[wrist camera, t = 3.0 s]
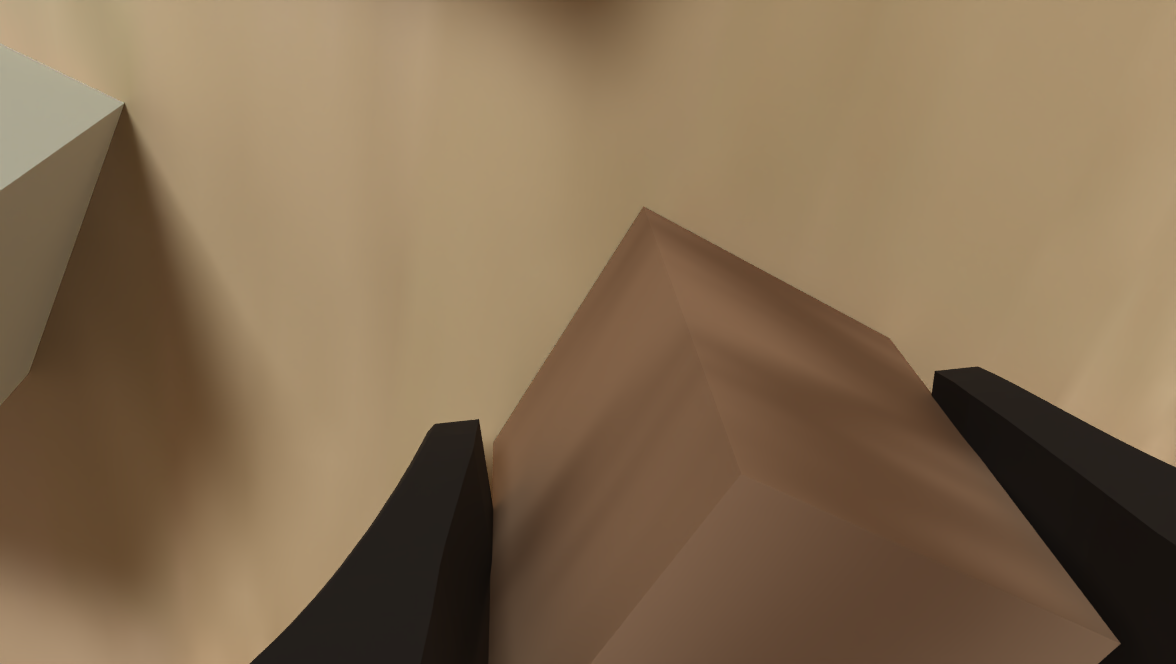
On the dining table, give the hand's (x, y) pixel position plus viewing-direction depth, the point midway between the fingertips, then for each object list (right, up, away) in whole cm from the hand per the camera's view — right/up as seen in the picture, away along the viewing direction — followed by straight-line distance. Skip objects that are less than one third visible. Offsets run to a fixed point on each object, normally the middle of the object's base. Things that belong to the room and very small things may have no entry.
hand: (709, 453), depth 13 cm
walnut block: (0, +1, +1) cm, 2 cm away
